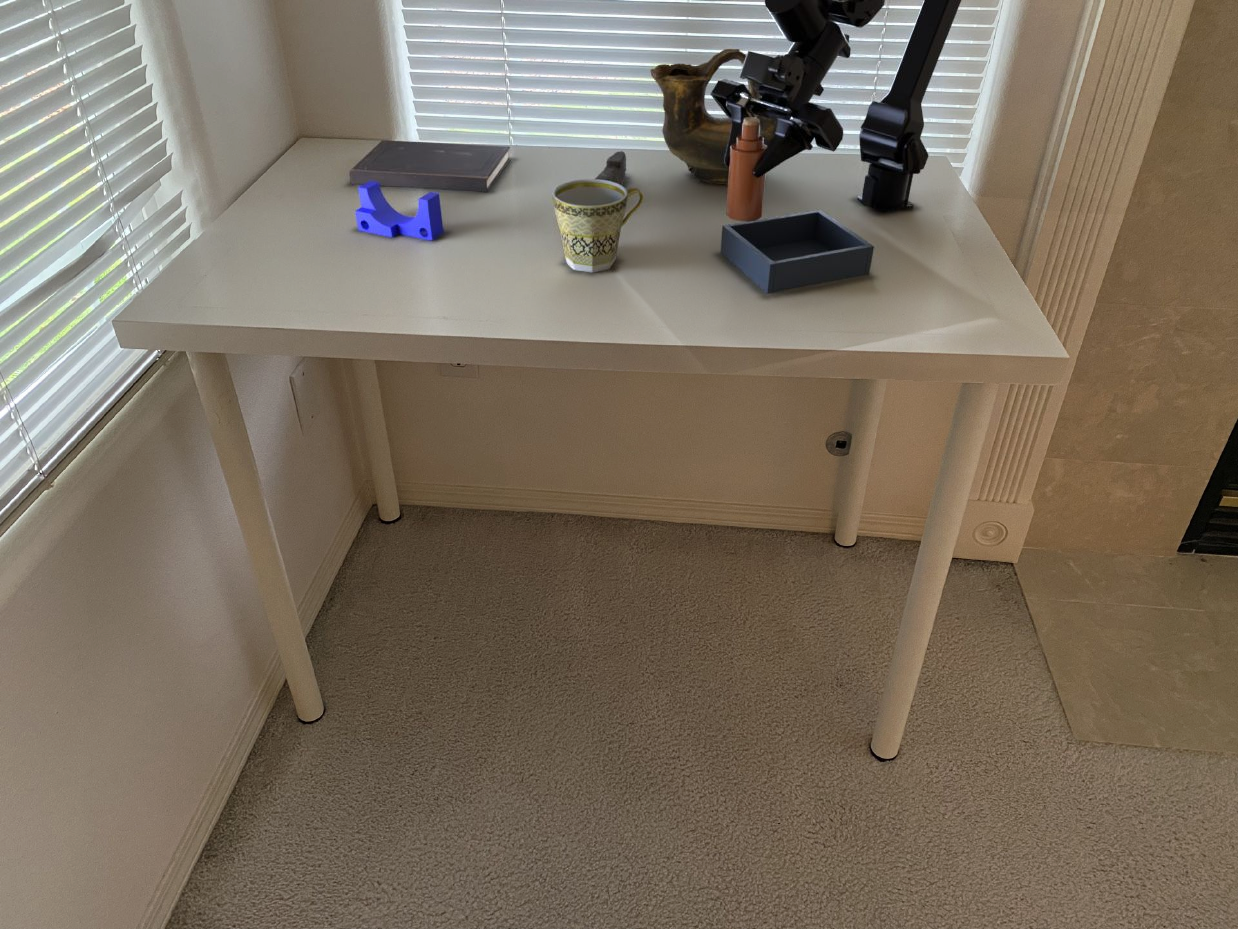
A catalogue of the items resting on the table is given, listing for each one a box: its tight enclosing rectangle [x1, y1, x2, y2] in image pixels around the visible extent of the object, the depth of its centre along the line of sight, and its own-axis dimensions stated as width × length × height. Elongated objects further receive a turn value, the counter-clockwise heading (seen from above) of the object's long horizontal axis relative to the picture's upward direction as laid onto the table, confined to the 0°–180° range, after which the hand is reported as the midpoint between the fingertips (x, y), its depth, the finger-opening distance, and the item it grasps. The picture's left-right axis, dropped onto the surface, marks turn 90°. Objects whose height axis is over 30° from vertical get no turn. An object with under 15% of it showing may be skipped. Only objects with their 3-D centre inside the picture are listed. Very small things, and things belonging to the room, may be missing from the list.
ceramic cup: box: [551, 178, 644, 273], centre depth 127 cm, size 13×10×10 cm
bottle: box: [725, 117, 767, 222], centre depth 122 cm, size 5×5×12 cm
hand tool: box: [594, 150, 627, 186], centre depth 149 cm, size 19×4×5 cm, turn 160°
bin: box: [720, 209, 875, 295], centre depth 128 cm, size 16×14×4 cm
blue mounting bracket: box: [354, 181, 444, 242], centre depth 136 cm, size 12×4×6 cm, turn 65°
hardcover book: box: [348, 139, 512, 193], centre depth 158 cm, size 16×23×2 cm
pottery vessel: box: [650, 48, 777, 185], centre depth 151 cm, size 25×11×20 cm, turn 96°
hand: (740, 170), depth 121 cm, fingers closed on bottle, 5 cm apart
